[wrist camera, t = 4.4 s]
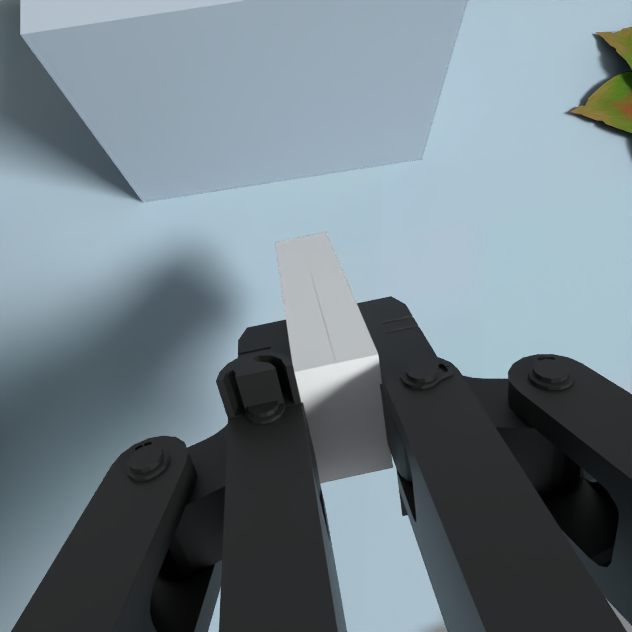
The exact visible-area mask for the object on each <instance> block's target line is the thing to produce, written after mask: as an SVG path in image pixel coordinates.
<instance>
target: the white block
mask: <svg viewBox="0 0 632 632" xmlns="http://www.w3.org/2000/svg"><path fill="white" fill-rule="evenodd" d="M467 1H468V0H20V35H21V36H22V38H23V39H24V40H25V42H26V43H27V45H28V46H29V47H30V49H31V50H32V51H33V53H34V54H35V55H36V57H37V58H38V60H39V61H40V62H41V64H42V65H43V66H44V68H45V69H46V71H47V72H48V73H49V75H50V76H51V77H52V79H53V80H54V81H55V83H56V84H57V86H58V87H59V88H60V90H61V91H62V92H63V94H64V95H65V96H66V98H67V99H68V101H69V102H70V103H71V105H72V106H73V107H74V109H75V110H76V112H77V113H78V114H79V116H80V117H81V118H82V120H83V121H84V122H85V124H86V125H87V127H88V128H89V129H90V131H91V132H92V133H93V135H94V136H95V138H96V139H97V140H98V142H99V143H100V144H101V146H102V147H103V148H104V150H105V151H106V153H107V154H108V155H109V157H110V158H111V159H112V161H113V162H114V164H115V165H116V166H117V168H118V169H119V170H120V172H121V173H122V174H123V176H124V177H125V179H126V180H127V181H128V183H129V184H130V185H131V187H132V188H133V189H134V191H135V192H136V194H137V195H138V196H139V198H140V199H141V200H142V202H143V203H144V202H150V201H157V200H163V199H169V198H176V197H182V196H189V195H195V194H202V193H208V192H215V191H221V190H227V189H234V188H240V187H247V186H253V185H260V184H266V183H273V182H279V181H286V180H292V179H298V178H305V177H311V176H318V175H324V174H331V173H337V172H344V171H350V170H356V169H363V168H369V167H376V166H382V165H389V164H395V163H402V162H408V161H415V160H421V159H422V157H423V153H424V150H425V146H426V143H427V140H428V136H429V133H430V129H431V126H432V122H433V119H434V115H435V112H436V108H437V105H438V101H439V98H440V95H441V91H442V88H443V84H444V81H445V77H446V74H447V70H448V67H449V63H450V60H451V56H452V53H453V49H454V46H455V43H456V39H457V36H458V32H459V29H460V25H461V22H462V18H463V15H464V11H465V8H466V4H467Z"/></svg>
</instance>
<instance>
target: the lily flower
mask: <svg viewBox="0 0 632 632" xmlns="http://www.w3.org/2000/svg"><path fill="white" fill-rule="evenodd" d="M596 33H597V34H598V35H600V36H601V37H602V38H604V40H605V41H606V42H608V43H609V44H610V46H612V47H614V48H616V52H617V53H618V54H620V55H621V56H622V57H623V58H624V59H625V60H626V61H627V63H628V64H629V66H630V67H631V69H632V27H629V28H625V29H622V30H621V31H620V32H619V31H618V32H616V33H615V34H613V33H612V32H596ZM570 112H572V113H576V114H582V115H583V116H586V117H589V118H592V119H594V120H602V121H604V123H605V124H607V125H610V126H613V127H616V128H619V129H622V130H624V131H627V132H630V133H632V71H628V72H624V73H621V74H619V75H617V76H615V77H613V78H611V79H610V80H608V81H607V82H606V83H604V84H603V85H602V86H601V87H600V88H598V89H597V90H596V91H595V92H594V93H593V94H592V95H591V96H590V97H589V98H588V101H587V102H586V104H585V106H582V105H580V106H579V107H577V108H576V109H574V110H572V111H570Z"/></svg>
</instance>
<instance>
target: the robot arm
mask: <svg viewBox="0 0 632 632" xmlns="http://www.w3.org/2000/svg"><path fill="white" fill-rule="evenodd" d="M275 247H276V254H277V261H278V268H279V275H280V281H281V288H282V295H283V302H284V309H285V316H286V320H282V321H277V322H272V323H268V324H263V325H258V326H253V327H248V328H247V329H246V330H245V332H244V333H243V334H242V336H241V337H240V339H239V340H238V358H237V359H235V360H234V361H232V362H230V363H228V364H227V365H226V366H225V367H224V368H223V369H222V370H221V371H220V372H219V375H218V377H217V380H216V383H217V386H218V389H219V392H220V395H221V398H222V401H223V404H224V407H225V411H226V414H227V417H228V424H227V425H226V426H225V427H224V428H223V429H222V430H220V431H219V432H218V433H216V434H215V435H213V436H211V437H209V438H207V439H206V440H203V441H201V442H199V443H197V444H195V445H192V446H190V447H188V448H187V447H186V445H185V443H184V442H183V441H181V440H180V439H178V438H176V437H170V436H159V437H154V438H149V439H146V440H144V441H142V442H139V443H137V444H135V445H133V446H132V447H130V448H129V449H128V450H126V451H125V452H123V453H122V454H121V455H120V456H119V457H118V459H117V460H116V461H115V462H114V463H113V464H112V466H111V467H110V469H109V471H108V472H107V474H106V476H105V477H104V479H103V481H102V482H101V484H100V486H99V487H98V489H97V491H96V492H95V494H94V496H93V497H92V499H91V501H90V502H89V504H88V505H87V507H86V509H85V510H84V512H83V514H82V515H81V517H80V519H79V520H78V522H77V524H76V525H75V527H74V529H73V530H72V532H71V534H70V535H69V537H68V539H67V540H66V542H65V544H64V545H63V547H62V548H61V550H60V552H59V553H58V555H57V557H56V558H55V560H54V562H53V563H52V565H51V567H50V568H49V570H48V572H47V573H46V575H45V577H44V578H43V580H42V582H41V583H40V585H39V587H38V588H37V590H36V591H35V593H34V595H33V596H32V598H31V600H30V601H29V603H28V605H27V606H26V608H25V610H24V611H23V613H22V615H21V616H20V618H19V620H18V621H17V623H16V625H15V626H14V628H13V630H12V631H11V632H208V629H209V626H210V622H211V619H212V615H213V612H214V608H215V605H216V601H217V598H218V594H219V591H220V587H221V599H220V622H219V632H347V629H346V623H345V618H344V612H343V606H342V600H341V595H340V589H339V583H338V577H337V572H336V566H335V560H334V554H333V549H332V543H331V537H330V532H329V526H328V520H327V514H326V509H325V503H324V499H323V495H322V490H321V486H320V483H324V482H328V481H333V480H337V479H342V478H347V477H351V476H356V475H361V474H365V473H370V472H375V471H379V470H384V469H389V468H393V464H392V457H393V460H394V463H395V465H396V468H397V476H398V484H399V492H400V500H401V508H402V516H405V515H408V516H409V519H410V522H411V525H412V528H413V531H414V534H415V537H416V540H417V543H418V546H419V549H420V552H421V555H422V558H423V561H424V564H425V567H426V569H427V572H428V575H429V578H430V581H431V584H432V587H433V590H434V593H435V596H436V599H437V602H438V605H439V608H440V611H441V614H442V617H443V620H444V623H445V625H446V628H447V631H448V632H627V631H626V630H625V628H624V627H623V625H622V624H621V622H620V620H619V619H618V617H617V616H616V614H615V613H614V611H613V610H612V608H611V607H610V605H609V604H608V602H607V600H608V601H609V602H610V603H611V604H612V605H613V606H614V607H615V608H616V609H617V610H618V612H619V613H620V614H621V615H622V616H623V617H624V618H625V619H626V620H627V621H628V622H629V623H630V624H631V625H632V394H630V393H629V392H627V391H626V390H624V389H622V388H621V387H619V386H617V385H616V384H614V383H613V382H611V381H609V380H608V379H606V378H605V377H603V376H601V375H600V374H598V373H597V372H595V371H593V370H592V369H590V368H588V367H587V366H585V365H584V364H582V363H580V362H577V361H575V360H573V359H571V358H568V357H563V356H558V355H553V354H537V355H532V356H528V357H524V358H522V359H520V360H519V361H517V362H515V363H514V364H513V365H512V366H511V368H510V370H509V371H508V379H482V378H471V377H467V376H462V374H461V373H460V371H459V370H458V369H457V368H456V367H455V366H454V365H453V364H452V363H451V362H449V361H446V360H444V359H441V358H438V357H437V356H436V354H435V352H434V351H433V349H432V347H431V346H430V344H429V342H428V341H427V339H426V337H425V336H424V334H423V333H422V331H421V329H420V328H419V327H418V324H417V323H416V321H415V319H414V318H413V317H412V314H411V313H410V311H409V309H408V308H407V306H406V305H405V304H404V303H402V302H400V301H398V300H397V299H395V298H393V297H386V298H381V299H376V300H371V301H367V302H362V303H356V301H355V298H354V296H353V294H352V291H351V289H350V286H349V284H348V282H347V279H346V277H345V275H344V272H343V270H342V268H341V265H340V263H339V260H338V258H337V256H336V253H335V251H334V249H333V246H332V244H331V242H330V239H329V237H328V234H327V232H322V233H318V234H313V235H308V236H303V237H298V238H293V239H288V240H283V241H278V242H275ZM391 454H392V456H391ZM605 598H606V599H607V600H606V599H605Z"/></svg>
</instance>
